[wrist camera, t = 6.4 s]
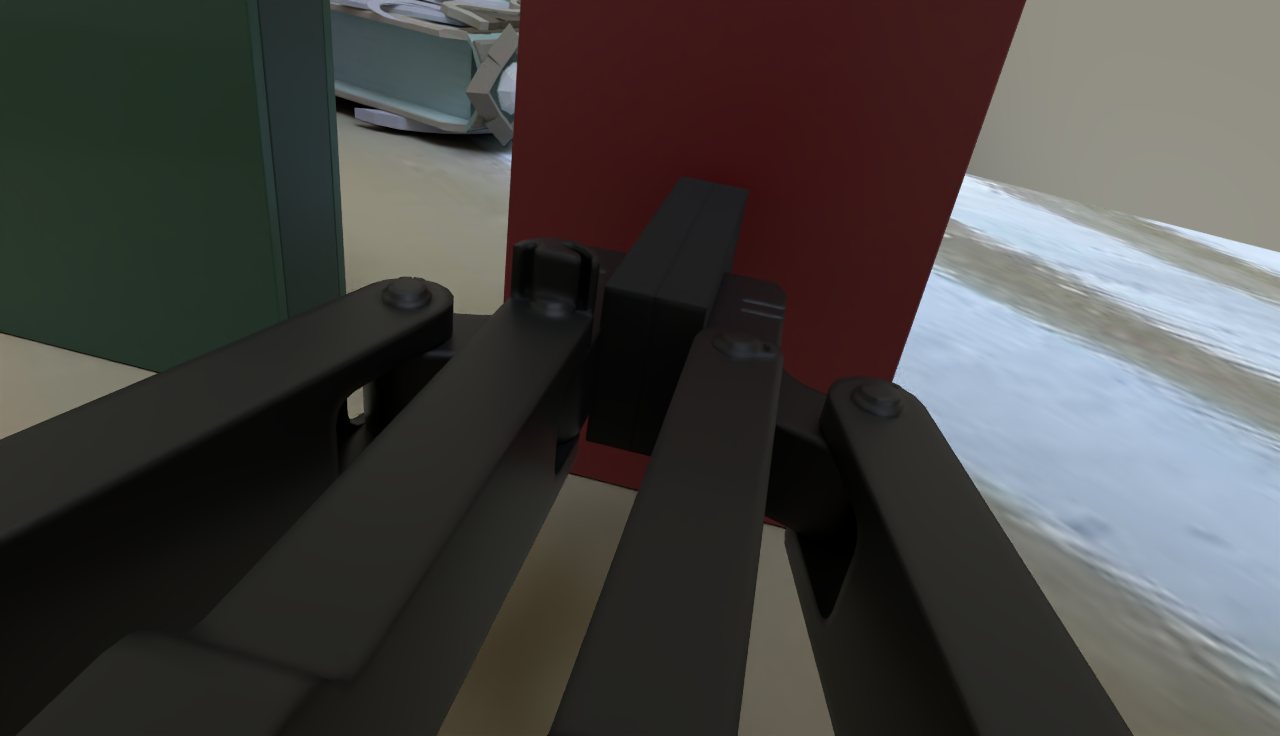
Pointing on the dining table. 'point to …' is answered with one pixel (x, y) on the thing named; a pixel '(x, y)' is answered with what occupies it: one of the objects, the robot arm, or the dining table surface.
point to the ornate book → (429, 63)
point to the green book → (166, 173)
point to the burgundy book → (762, 150)
